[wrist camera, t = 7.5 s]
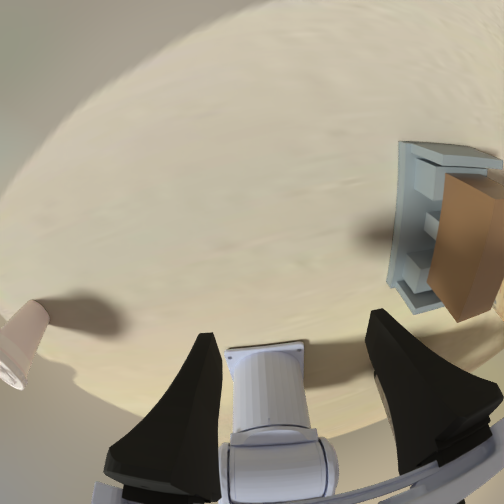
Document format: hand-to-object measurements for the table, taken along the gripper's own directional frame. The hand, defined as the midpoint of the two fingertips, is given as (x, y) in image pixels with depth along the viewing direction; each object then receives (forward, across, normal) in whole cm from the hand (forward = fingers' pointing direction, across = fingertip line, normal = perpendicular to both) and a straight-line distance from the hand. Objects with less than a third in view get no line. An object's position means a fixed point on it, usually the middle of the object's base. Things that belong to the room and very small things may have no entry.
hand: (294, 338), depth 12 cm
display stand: (+10, -14, 0) cm, 17 cm away
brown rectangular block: (+6, -14, -1) cm, 15 cm away
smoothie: (+10, +28, +6) cm, 30 cm away
